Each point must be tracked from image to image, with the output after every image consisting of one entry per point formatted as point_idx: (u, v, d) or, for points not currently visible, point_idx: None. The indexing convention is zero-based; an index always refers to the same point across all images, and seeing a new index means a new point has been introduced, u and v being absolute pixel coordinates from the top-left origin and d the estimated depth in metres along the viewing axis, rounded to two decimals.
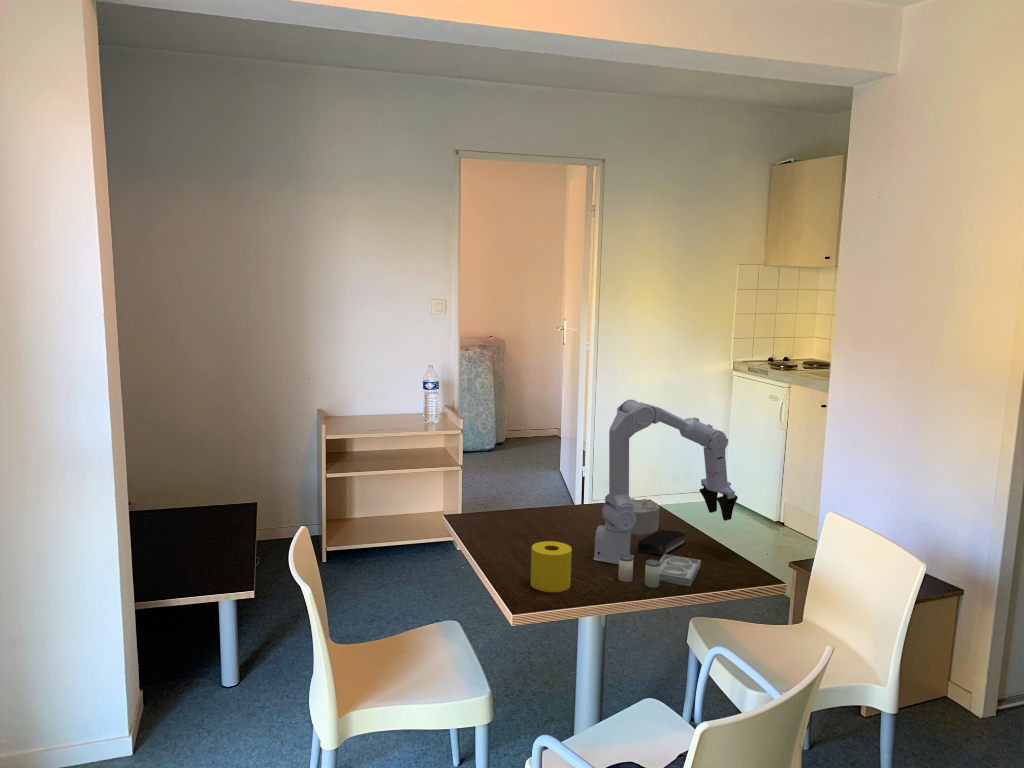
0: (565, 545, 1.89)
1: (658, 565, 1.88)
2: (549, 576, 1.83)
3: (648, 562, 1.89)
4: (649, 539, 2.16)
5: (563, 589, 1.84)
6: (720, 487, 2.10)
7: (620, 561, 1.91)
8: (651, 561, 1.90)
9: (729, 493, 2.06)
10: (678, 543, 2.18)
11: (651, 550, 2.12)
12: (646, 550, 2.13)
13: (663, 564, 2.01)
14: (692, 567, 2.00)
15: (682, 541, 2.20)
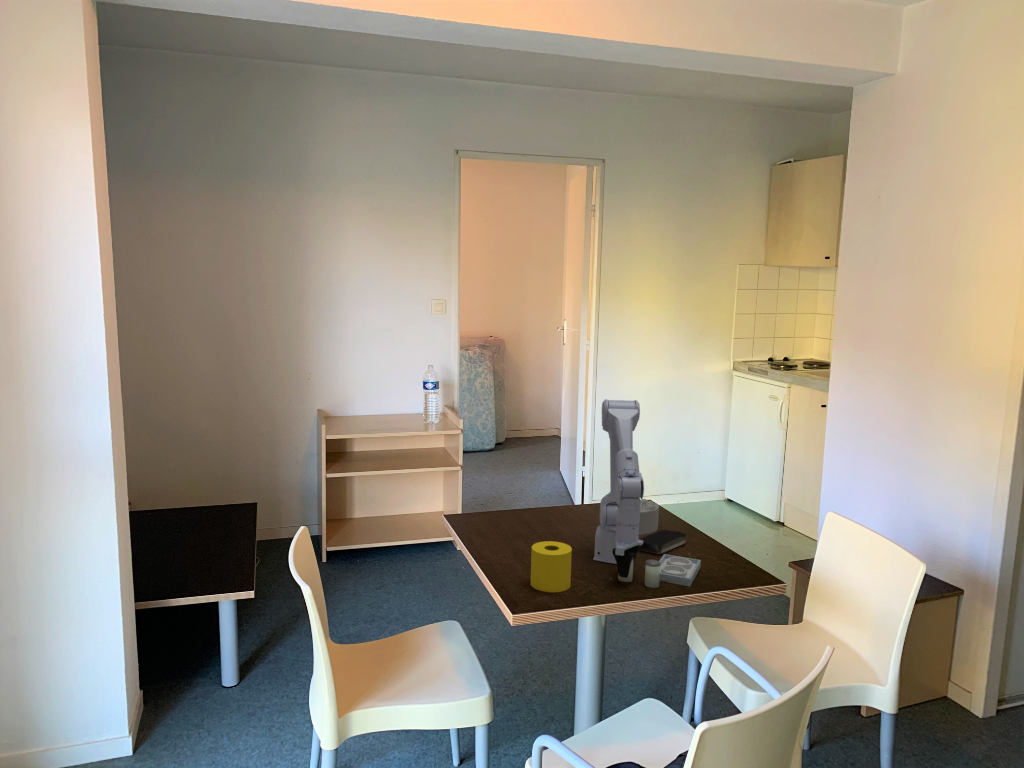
0: (565, 545, 1.89)
1: (658, 565, 1.88)
2: (549, 576, 1.83)
3: (648, 562, 1.89)
4: (647, 538, 2.16)
5: (563, 589, 1.84)
6: (621, 541, 1.89)
7: None
8: (651, 561, 1.90)
9: (616, 548, 1.85)
10: (678, 543, 2.17)
11: (647, 549, 2.12)
12: (643, 549, 2.13)
13: (663, 564, 2.01)
14: (692, 567, 2.00)
15: (682, 542, 2.19)
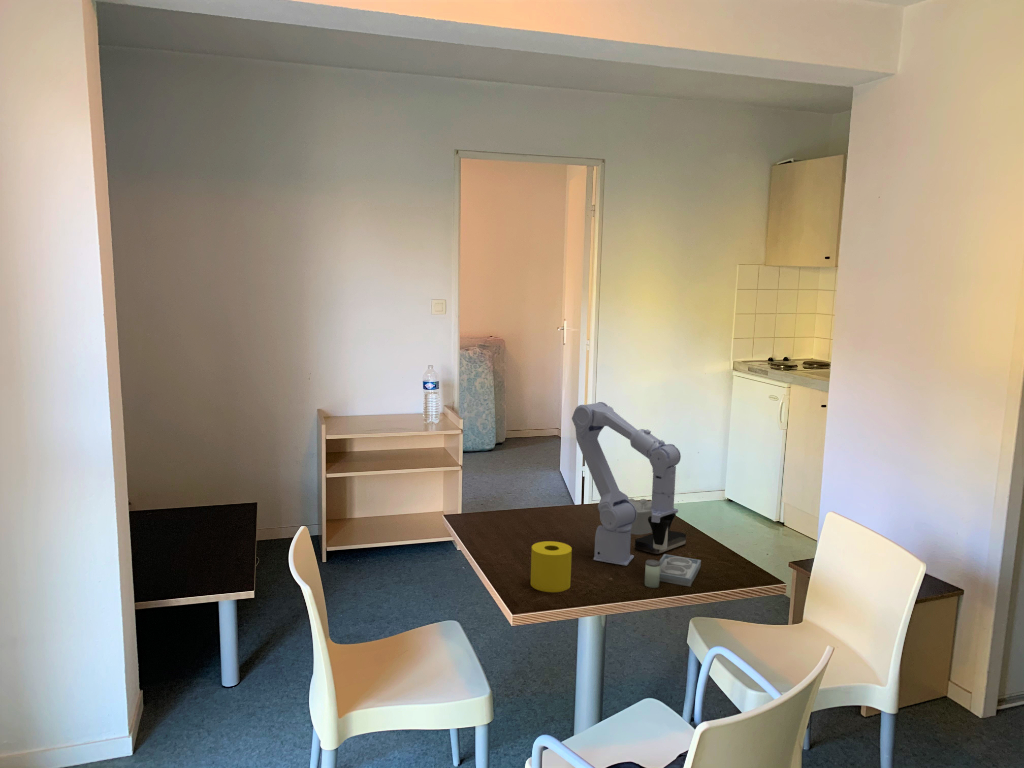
0: (565, 545, 1.89)
1: (658, 565, 1.88)
2: (549, 576, 1.83)
3: (648, 562, 1.89)
4: (647, 538, 2.17)
5: (563, 589, 1.84)
6: (657, 509, 1.94)
7: None
8: (651, 561, 1.90)
9: (652, 516, 1.90)
10: (678, 543, 2.17)
11: (646, 549, 2.13)
12: (641, 548, 2.14)
13: (663, 564, 2.01)
14: (692, 567, 2.00)
15: (683, 542, 2.19)
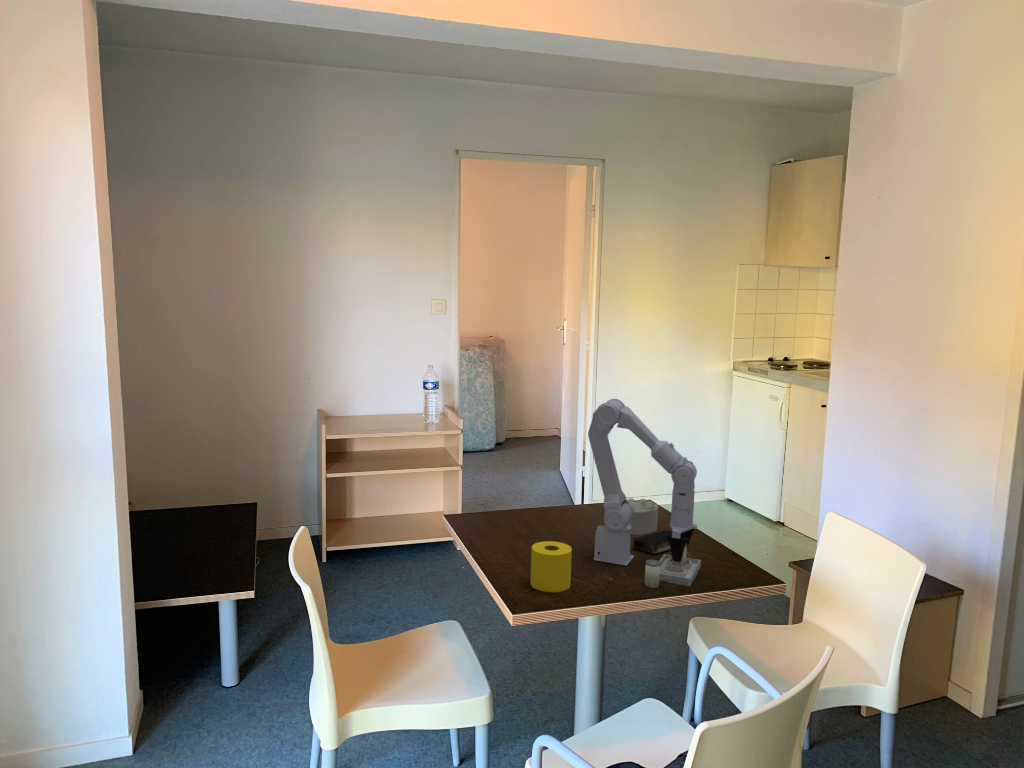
0: (565, 545, 1.89)
1: (658, 565, 1.88)
2: (549, 576, 1.83)
3: (648, 562, 1.89)
4: (646, 537, 2.17)
5: (563, 589, 1.84)
6: (677, 525, 1.97)
7: None
8: (651, 561, 1.90)
9: (673, 531, 1.93)
10: None
11: (644, 548, 2.13)
12: (640, 548, 2.14)
13: (663, 564, 2.01)
14: (692, 567, 2.00)
15: None
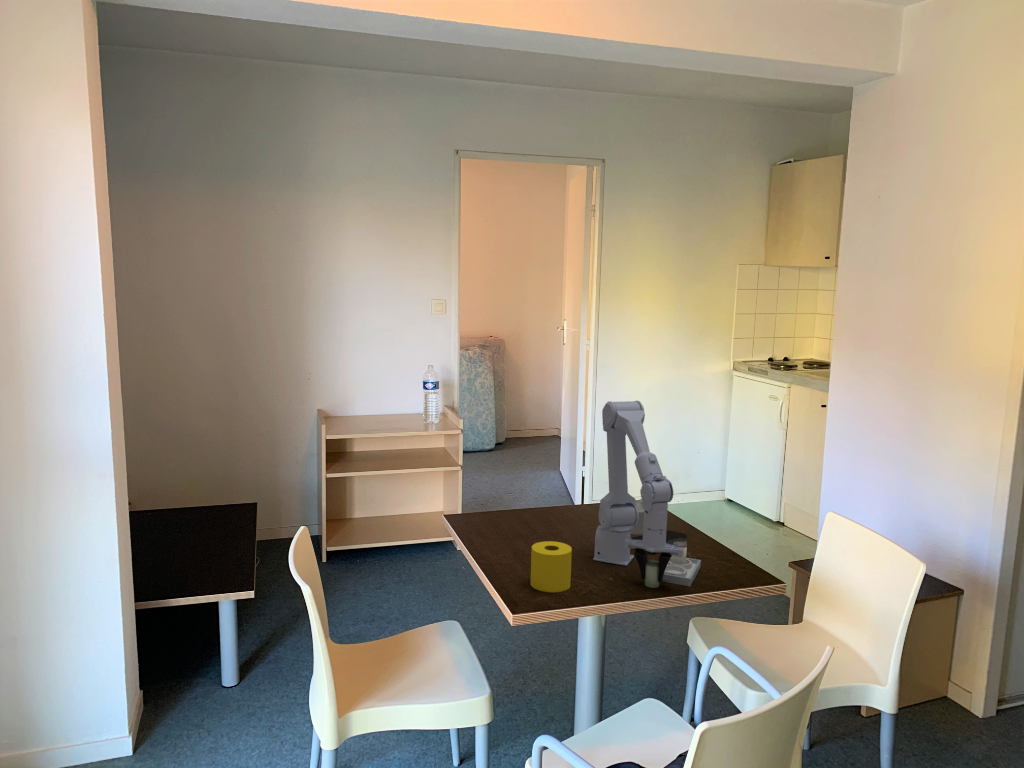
0: (565, 545, 1.89)
1: (658, 565, 1.88)
2: (549, 576, 1.83)
3: (648, 562, 1.89)
4: None
5: (563, 589, 1.84)
6: None
7: None
8: (651, 561, 1.90)
9: None
10: None
11: None
12: None
13: None
14: (692, 567, 2.00)
15: None
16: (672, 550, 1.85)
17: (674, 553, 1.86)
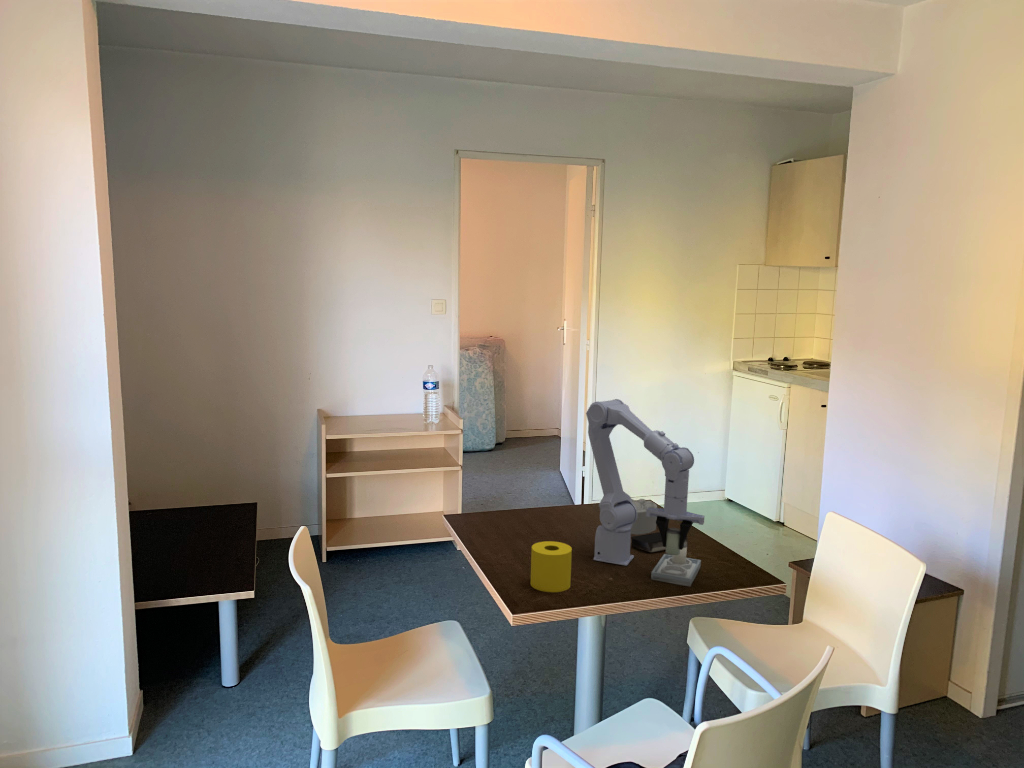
0: (565, 545, 1.89)
1: (679, 533, 1.91)
2: (549, 576, 1.83)
3: (669, 530, 1.92)
4: (644, 536, 2.18)
5: (563, 589, 1.84)
6: None
7: None
8: (672, 529, 1.93)
9: None
10: None
11: (640, 546, 2.15)
12: (636, 546, 2.16)
13: (663, 564, 2.01)
14: (692, 567, 2.00)
15: None
16: (693, 517, 1.89)
17: (695, 521, 1.90)
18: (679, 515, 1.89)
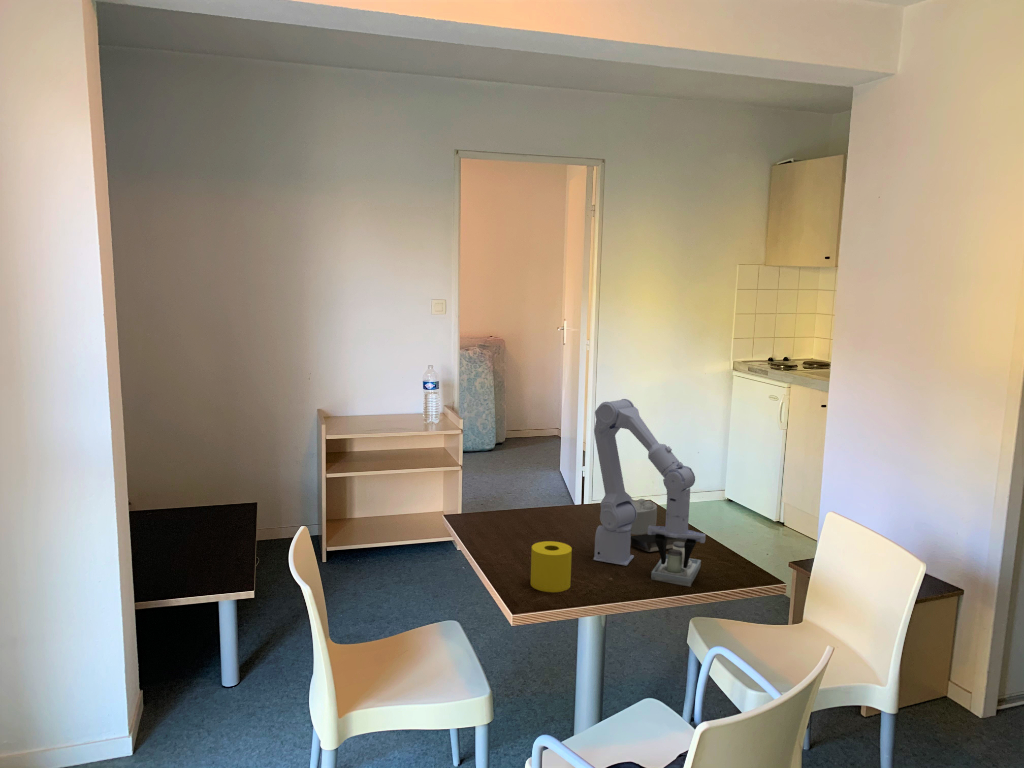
0: (565, 545, 1.89)
1: (680, 554, 1.93)
2: (549, 576, 1.83)
3: (670, 551, 1.94)
4: (644, 536, 2.19)
5: (563, 589, 1.84)
6: None
7: (675, 548, 2.00)
8: (673, 550, 1.95)
9: None
10: None
11: (639, 546, 2.15)
12: (635, 545, 2.16)
13: (663, 564, 2.01)
14: (692, 567, 2.00)
15: None
16: (694, 536, 1.90)
17: (696, 539, 1.91)
18: (680, 533, 1.91)
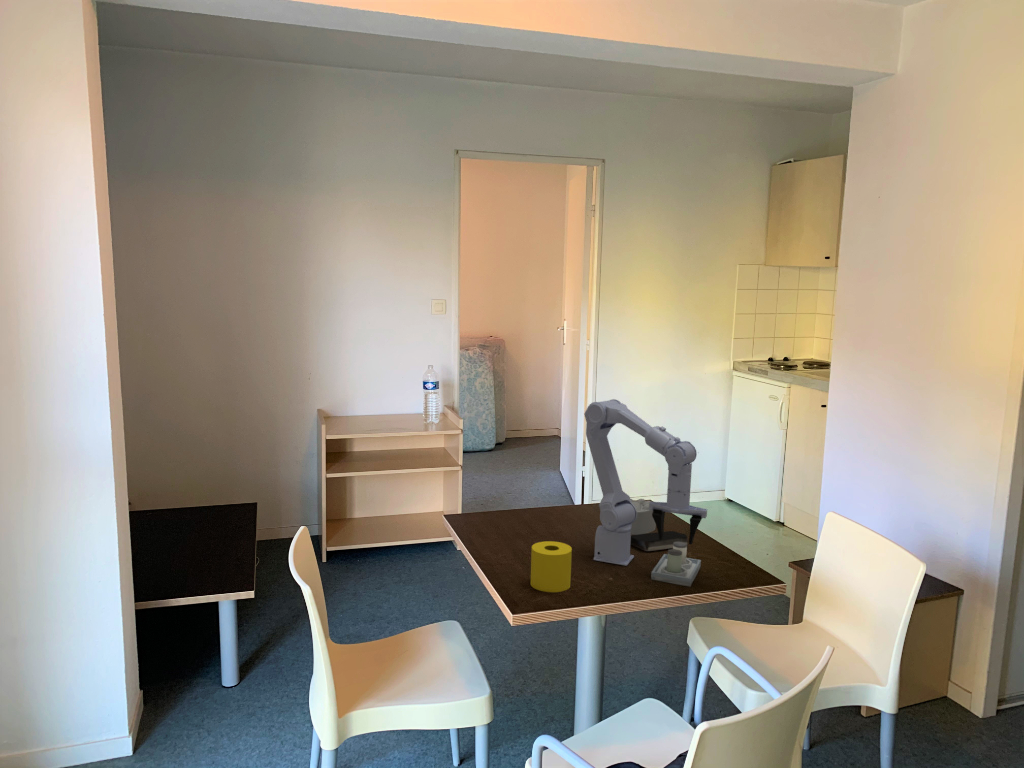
0: (565, 545, 1.89)
1: (680, 554, 1.93)
2: (549, 576, 1.83)
3: (670, 551, 1.94)
4: (643, 535, 2.19)
5: (563, 589, 1.84)
6: None
7: (675, 548, 2.00)
8: (673, 550, 1.95)
9: None
10: None
11: (637, 545, 2.16)
12: (634, 544, 2.17)
13: (663, 564, 2.01)
14: (692, 567, 2.00)
15: None
16: (696, 511, 1.89)
17: (698, 514, 1.91)
18: (682, 509, 1.90)
